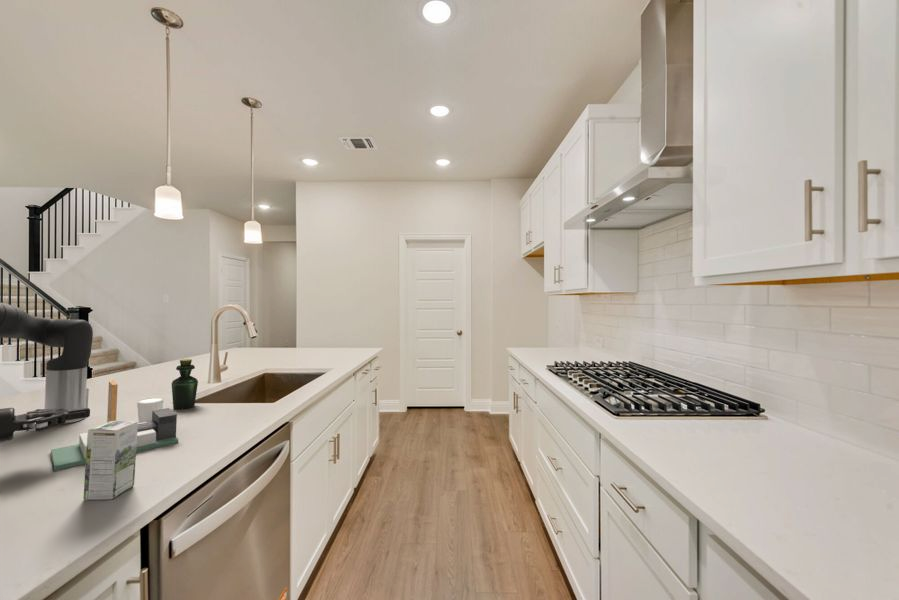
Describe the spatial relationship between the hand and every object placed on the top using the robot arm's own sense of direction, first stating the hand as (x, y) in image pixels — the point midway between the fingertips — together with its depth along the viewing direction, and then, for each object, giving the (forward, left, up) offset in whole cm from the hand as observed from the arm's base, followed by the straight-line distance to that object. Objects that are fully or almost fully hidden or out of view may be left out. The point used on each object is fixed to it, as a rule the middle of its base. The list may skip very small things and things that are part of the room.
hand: (89, 412), depth 94 cm
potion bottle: (-42, -2, -11) cm, 44 cm away
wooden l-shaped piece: (-7, +7, -7) cm, 12 cm away
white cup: (-26, -3, -11) cm, 29 cm away
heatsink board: (-4, +4, -11) cm, 12 cm away
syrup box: (+20, +21, -11) cm, 31 cm away
